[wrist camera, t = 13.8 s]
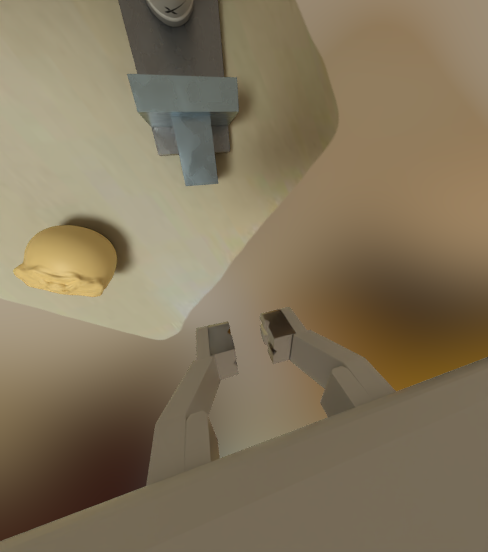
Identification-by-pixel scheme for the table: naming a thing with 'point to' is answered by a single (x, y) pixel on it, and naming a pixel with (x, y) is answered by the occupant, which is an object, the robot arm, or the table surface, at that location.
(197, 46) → the vise
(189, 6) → the travel mug
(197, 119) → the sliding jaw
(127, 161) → the table surface
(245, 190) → the table surface
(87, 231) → the sculpture
